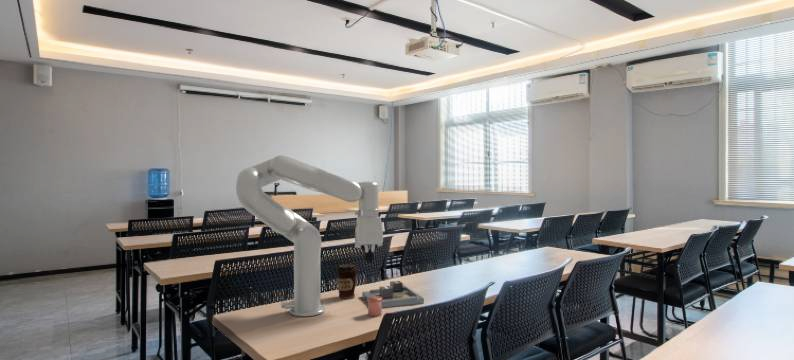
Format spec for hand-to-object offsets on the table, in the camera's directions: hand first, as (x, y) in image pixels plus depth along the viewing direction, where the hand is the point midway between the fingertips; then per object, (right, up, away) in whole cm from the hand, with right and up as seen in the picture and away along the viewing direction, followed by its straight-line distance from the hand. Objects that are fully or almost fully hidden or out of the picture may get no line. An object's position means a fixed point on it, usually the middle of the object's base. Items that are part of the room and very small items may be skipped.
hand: (369, 262), depth 170 cm
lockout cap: (+3, -17, -10) cm, 20 cm away
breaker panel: (+9, -17, +8) cm, 20 cm away
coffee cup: (-10, -17, +12) cm, 23 cm away
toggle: (+6, -14, +3) cm, 16 cm away
